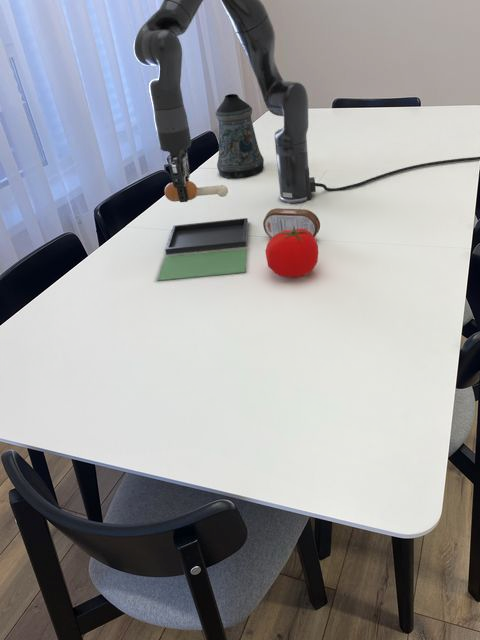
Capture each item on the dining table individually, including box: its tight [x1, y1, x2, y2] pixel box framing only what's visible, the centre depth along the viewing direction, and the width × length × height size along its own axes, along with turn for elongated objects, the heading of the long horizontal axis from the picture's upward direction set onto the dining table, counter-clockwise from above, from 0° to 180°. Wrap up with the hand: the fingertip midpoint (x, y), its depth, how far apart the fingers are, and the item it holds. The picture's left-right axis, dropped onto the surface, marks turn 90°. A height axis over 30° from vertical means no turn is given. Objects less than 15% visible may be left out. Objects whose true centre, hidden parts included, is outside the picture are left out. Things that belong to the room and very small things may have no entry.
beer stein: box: [215, 93, 265, 180], centre depth 197 cm, size 16×19×25 cm
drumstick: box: [164, 180, 229, 203], centre depth 142 cm, size 16×5×5 cm, turn 88°
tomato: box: [265, 226, 319, 278], centre depth 135 cm, size 13×12×11 cm
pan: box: [164, 217, 249, 256], centre depth 159 cm, size 22×16×2 cm
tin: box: [262, 207, 321, 239], centre depth 151 cm, size 15×3×8 cm, turn 71°
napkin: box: [157, 247, 248, 282], centre depth 147 cm, size 22×13×1 cm, turn 89°
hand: (185, 197), depth 143 cm, fingers closed on drumstick, 4 cm apart
